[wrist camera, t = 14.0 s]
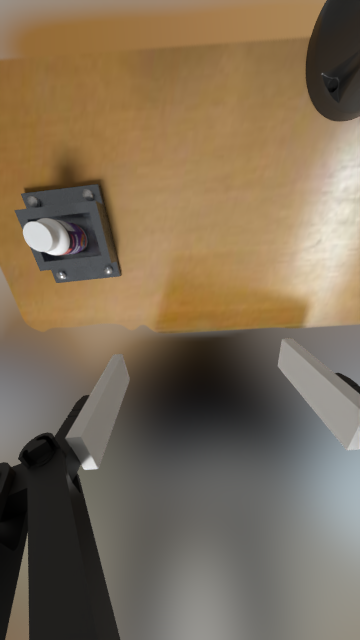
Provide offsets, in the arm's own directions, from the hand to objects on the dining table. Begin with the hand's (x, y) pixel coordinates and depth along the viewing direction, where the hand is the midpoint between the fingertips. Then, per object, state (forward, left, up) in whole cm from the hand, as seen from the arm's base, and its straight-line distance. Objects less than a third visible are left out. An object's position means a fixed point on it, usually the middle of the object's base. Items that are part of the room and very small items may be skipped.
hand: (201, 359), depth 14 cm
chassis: (-12, -21, -27) cm, 36 cm away
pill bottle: (-12, -21, -26) cm, 35 cm away
